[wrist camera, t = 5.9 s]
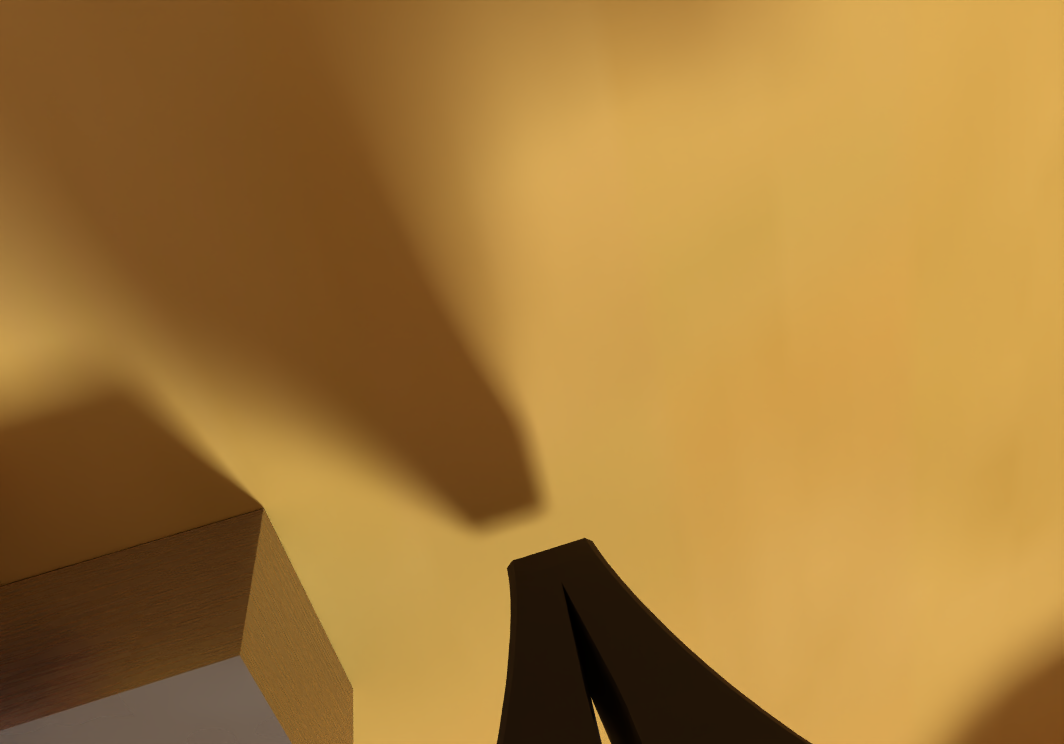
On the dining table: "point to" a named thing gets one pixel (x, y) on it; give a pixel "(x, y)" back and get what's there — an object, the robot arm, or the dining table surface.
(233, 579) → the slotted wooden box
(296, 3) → the dining table surface
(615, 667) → the robot arm
